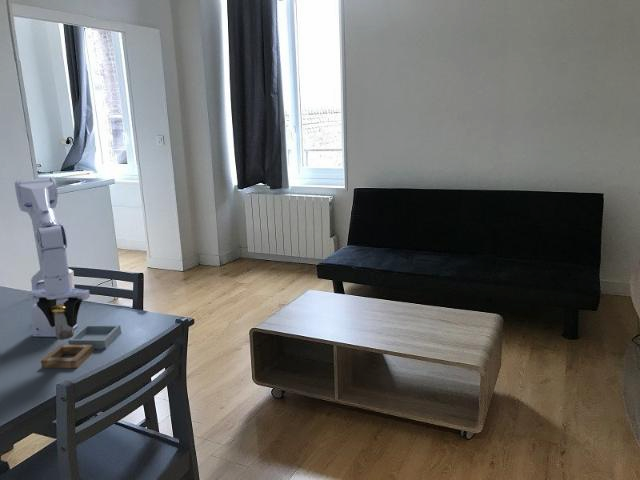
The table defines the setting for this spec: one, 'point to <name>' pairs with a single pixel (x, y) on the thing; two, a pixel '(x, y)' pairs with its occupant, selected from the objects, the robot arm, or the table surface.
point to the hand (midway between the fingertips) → (63, 325)
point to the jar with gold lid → (61, 322)
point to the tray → (96, 336)
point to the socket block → (56, 362)
